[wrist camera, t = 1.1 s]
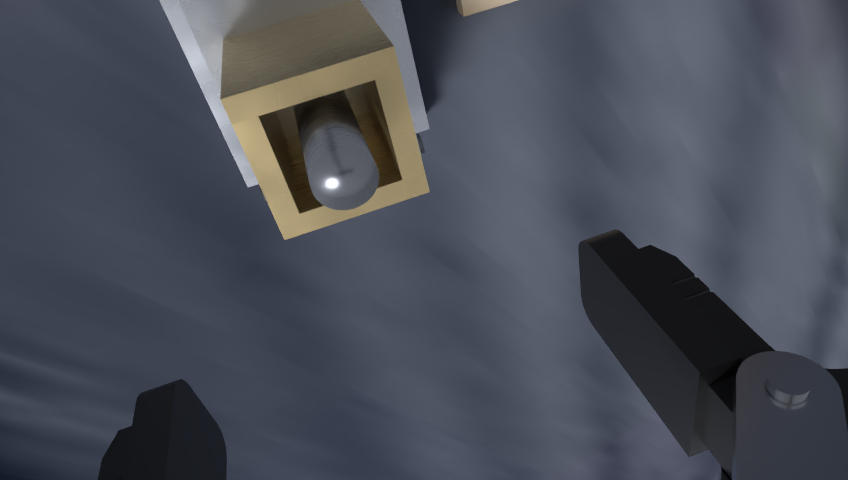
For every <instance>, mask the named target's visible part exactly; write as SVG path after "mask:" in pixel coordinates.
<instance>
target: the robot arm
mask: <svg viewBox="0 0 848 480" xmlns="http://www.w3.org/2000/svg"><path fill="white" fill-rule="evenodd" d="M579 267H580V284H581V298H582V302H583V306H584V309H585V311H586V314H587V316H588V318H589V320H590V322H591V324H592V325H593V326H594V328H595V329H596V331H597V332H598V333H599V335H600V336H601V337H602V339H603V340H604V342H605V343H606V344H607V346H608V347H609V348H610V350H611V351H612V352H613V354H614V355H615V357H616V358H617V359H618V361H619V362H620V363H621V365H622V366H623V367H624V369H625V370H626V372H627V373H628V374H629V376H630V377H631V378H632V380H633V381H634V382H635V384H636V385H637V387H638V388H639V389H640V391H641V392H642V393H643V395H644V396H645V398H646V399H647V400H648V402H649V403H650V404H651V406H652V407H653V408H654V410H655V411H656V413H657V414H658V415H659V417H660V418H661V419H662V421H663V422H664V423H665V425H666V426H667V428H668V429H669V430H670V432H671V433H672V434H673V436H674V437H675V439H676V440H677V441H678V443H679V444H680V445H681V447H682V448H683V449H684V451H685V452H686V454H687V455H688V456H689V457H690V456H693V455H696V454H698V453H701V452H703V451H706V450H708V449H709V451H710V452H711V453H712V454H713V456H714V457H715V458H716V460H717V461H718V462H719V464H720V465H719V474H718V480H848V368H847V369H825V368H823V367H822V366H821V365H819V364H818V363H816V362H814V361H812V360H810V359H808V358H806V357H803V356H801V355H797V354H794V353H789V352H783V351H775V350H774V349H773V348H772V347H770V346H769V345H768V344H767V343H766V342H765V341H764V340H763V339H762V338H761V337H760V336H759V335H758V334H757V333H755V332H754V331H753V330H752V329H751V328H750V327H749V326H748V325H747V324H746V323H745V322H744V321H743V320H742V319H741V318H740V317H739V316H738V315H737V314H736V313H734V312H733V311H732V310H731V309H730V308H729V307H728V306H727V305H726V304H725V303H724V302H723V301H722V300H721V299H720V298H719V297H718V296H717V295H716V294H715V293H714V292H710V290H709V288H708V287H707V286H706V285H705V284H704V283H703V282H702V281H701V280H700V279H699V278H695V276H694V273H693V272H691V271H690V270H689V269H688V268H687V267H686V266H685V265H684V264H683V263H682V262H681V261H680V260H679V259H678V258H677V257H676V256H673V255H671V254H669V253H667V252H665V251H663V250H660V249H658V248H656V247H654V246H652V245H649V246H646V247H643V248H640V249H638V248H637V247H636V246H635V245H634V244H633V243H632V242H631V241H630V240H629V239H628V238H627V237H626V236H625V235H624V234H623V233H622V232H621V231H619V230H612V231H609V232H607V233H604V234H601V235H598V236H595V237H592V238H589V239H586V240H584V241H581V242H580V243H579ZM226 465H227V455H226V446H225V442H224V438H223V435H222V432H221V430H220V428H219V426H218V424H217V423H216V421H215V420H214V419H213V417H212V416H211V415H210V413H209V412H208V410H207V409H206V408H205V406H204V405H203V404H202V402H201V401H200V399H199V398H198V397H197V395H196V394H195V393H194V391H193V390H192V388H191V387H190V386H189V384H188V383H187V382H186V381H184V380H182V379H180V380H177V381H174V382H171V383H168V384H165V385H162V386H160V387H157V388H154V389H151V390H148V391H145V392H142V393H141V394H139V396H138V398H137V401H136V406H135V412H134V418H133V423H132V426H130V427H128V428H125V429H122V430H119V431H118V433H117V434H116V436H115V438H114V440H113V441H112V443H111V445H110V446H109V448H108V450H107V452H106V453H105V455H104V457H103V458H102V462H101V467H100V472H99V477H98V480H226Z"/></svg>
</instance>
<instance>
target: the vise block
mask: <svg viewBox="0 0 848 480" xmlns="http://www.w3.org/2000/svg"><path fill="white" fill-rule="evenodd" d="M350 1H354V0H160V2H161V5H162V7H163V9H164V11H165V13H166V15H167V17H168V19H169V21H170V24H171V26H172V28H173V30H174V32H175V34H176V36H177V38H178V40H179V43H180V45H181V47H182V49H183V51H184V53H185V55H186V57H187V59H188V62H189V64H190V66H191V68H192V70H193V72H194V74H195V76H196V79H197V81H198V83H199V85H200V87H201V89H202V91H203V93H204V95H205V98H206V100H207V102H208V104H209V106H210V108H211V110H212V112H213V114H214V117H215V119H216V121H217V123H218V125H219V127H220V129H221V131H222V133H223V136H224V138H225V140H226V142H227V144H228V146H229V148H230V150H231V152H232V155H233V157H234V159H235V161H236V163H237V165H238V167H239V169H240V172H241V174H242V176H243V178H244V180H245V182H246V184H247V186H248V187H251V186H254V185H257V184H259V183H258V181H257V179H256V176H255V174H254V172H253V170H252V168H251V165H250V163H249V161H248V159H247V157H246V155H245V152H244V150H243V148H242V146H241V144H240V141H239V139H238V137H237V135H236V133H235V130H234V128H233V126H232V124H231V122H230V120H229V117H228V115H227V113H226V111H225V109H224V106H223V104H222V102H221V100H220V96H221V73H222V51H223V39H226V38H230V37H233V36H236V35H240V34H243V33H246V32H250V31H253V30H256V29H260V28H263V27H266V26H270V25H273V24H277V23H280V22H283V21H287V20H290V19H293V18H297V17H300V16H303V15H307V14H310V13H313V12H317V11H320V10H323V9H327V8H330V7H334V6H337V5H340V4H344V3H347V2H350ZM360 1H361V3H362V4H363V5H364V7H365V8H366V9H367V11H368V12H369V13H370V15H371V16H372V17H373V19H374V20H375V21H376V23H377V24H378V25H379V27H380V28H381V29H382V31H383V32H384V33H385V35H386V36H387V37H388V39H389V40H390V41H391V43H392V44H393V45H394V47H395V52H396V56H397V60H398V64H399V68H400V72H401V76H402V80H403V84H404V89H405V93H406V97H407V101H408V105H409V109H410V113H411V117H412V121H413V126H414V130H415V134H416V133H417V134H416V138H417V142H418V146H419V150H420V154H422V153H424V147H423V143H422V140H421V137H420V135H419V134H418V132H421V131H424V130H428V129H429V125H428V120H427V116H426V111H425V107H424V102H423V98H422V94H421V89H420V85H419V80H418V76H417V71H416V67H415V63H414V58H413V54H412V49H411V45H410V40H409V36H408V31H407V27H406V23H405V18H404V14H403V9H402V5H401V0H360ZM367 112H369V109H368V106H367V102H366V99H365V95H364V92H363V89H362V85H361V84H360V85H357V86H354V87H351V88H347V89H344V90H341V91H338V92H335V93H331V94H328V95H325V96H322V97H318V98H315V99H312V100H309V101H306V102H302V103H299V104H296V105H293V106H290V107H286V108H283V109H280V110H277V111H276V114H277V116H278V119H279V121H280V124H281V126H282V129H283V131H284V134H285V136H286V138H288V137H291V136H294V135H298V134H299V137H300V142H301V147H302V151H303V156H304V160H305V165H306V169H307V174H308V179H309V183H310V188H311V191H312V193H313V195H314V197H315V198H316V199H317V200H318V201H319V202H320V203H321V204H322V205H324V206H326V207H328V208H331V209H334V210H350V209H354V208H357V207H359V206H361V205H363V204H364V203H366V202H367V201H368V200H369V199H370V198H371V197H372V196H373V195H374V193H375V191H376V190H377V187H378V184H379V171H378V168H377V166H376V163H375V161H374V159H373V156H372V154H371V152H370V149H369V147H368V145H367V142H366V140H365V138H364V135H363V133H362V131H361V128H360V126H359V124H358V121H357V119H356V117H355V116H358V115H361V114H364V113H367ZM260 189H261V187H260ZM261 193H262V196H263V198H264V200H265V202H266V204H268V203H267V200H266V198H265V196H264V194H263V192H262V190H261Z"/></svg>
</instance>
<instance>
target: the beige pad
mask: <svg viewBox="0 0 848 480" xmlns="http://www.w3.org/2000/svg"><path fill="white" fill-rule="evenodd" d="M514 1H517V0H456V5H457V11H458V12H459V13H460V14H461V15H462V16H464V17H465V16H468V15H471V14H475V13H478V12H481V11H484V10H488V9H491V8H494V7H497V6H501V5H504V4H507V3H511V2H514Z"/></svg>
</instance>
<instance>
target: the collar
mask: <svg viewBox="0 0 848 480" xmlns="http://www.w3.org/2000/svg"><path fill="white" fill-rule="evenodd" d="M360 84H361V85H362V89H363V92H364V95H365V99H366V102H367V106H368V109H369V112H367V113H364V114H361V115H358V116H355V117H356V119H357V121H358V124H359V126H360V128H361V131H362V133H363V135H364V138H365V140H366V142H367V145H368V147H369V149H370V152H371V154H372V156H373V159H374V161H375V163H376V166H377V168H378V171H379V184H378V187H377V190H376V191H375V193H374V195H373V196H372V197H371V198H370V199H369V200H368V201H367V202H366V203H364V204H363V205H361V206H359V207H357V208H354V209H350V210H334V209H331V208H328V207H326V206H324V205H322V204H321V203H320V202H319V201H318V200H317V199H316V198H315V197H314V195H313V193H312V191H311V188H310V183H309V179H308V174H307V169H306V165H305V160H304V156H303V151H302V147H301V142H300V137H299V134H298V135H294V136H291V137H288V138H286V136H285V134H284V131H283V129H282V126H281V124H280V121H279V119H278V116H277V114H276V111H277V110H280V109H283V108H286V107H290V106H293V105H296V104H299V103H302V102H306V101H309V100H312V99H315V98H318V97H322V96H325V95H328V94H331V93H335V92H338V91H341V90H344V89H347V88H351V87H354V86H357V85H360ZM220 100H221V102H222V104H223V106H224V109H225V111H226V113H227V115H228V117H229V120H230V122H231V124H232V126H233V128H234V130H235V133H236V135H237V137H238V139H239V141H240V144H241V146H242V148H243V150H244V152H245V155H246V157H247V159H248V161H249V163H250V165H251V168H252V170H253V172H254V174H255V176H256V179H257V181H258V183H259V185H260V187H261V190H262V192H263V194H264V196H265V198H266V200H267V203H268V205H269V207H270V209H271V211H272V214H273V216H274V218H275V220H276V222H277V225H278V227H279V229H280V231H281V233H282V235H283V238H284V240H286V239H289V238H293V237H296V236H299V235H302V234H305V233H308V232H311V231H314V230H317V229H320V228H323V227H326V226H329V225H332V224H335V223H338V222H341V221H344V220H347V219H350V218H353V217H356V216H359V215H362V214H365V213H368V212H371V211H374V210H377V209H380V208H383V207H386V206H389V205H392V204H395V203H398V202H401V201H404V200H407V199H410V198H413V197H416V196H419V195H422V194H425V193H428V192H430V191H429V187H428V183H427V179H426V175H425V171H424V167H423V163H422V158H421V154H420V150H419V146H418V142H417V138H416V134H415V130H414V126H413V121H412V117H411V113H410V109H409V105H408V101H407V97H406V93H405V89H404V84H403V80H402V76H401V72H400V68H399V64H398V60H397V56H396V52H395V47H394V45H393V44H392V43H391V41H390V40H389V39H388V37H387V36H386V35H385V33H384V32H383V31H382V29H381V28H380V27H379V25H378V24H377V23H376V21H375V20H374V19H373V17H372V16H371V15H370V13H369V12H368V11H367V9H366V8H365V7H364V5H363V4H362V3H361V1H360V0H354V1H350V2H347V3H344V4H340V5H337V6H334V7H330V8H327V9H323V10H320V11H317V12H313V13H310V14H307V15H303V16H300V17H297V18H293V19H290V20H287V21H283V22H280V23H277V24H273V25H270V26H266V27H263V28H260V29H256V30H253V31H250V32H246V33H243V34H240V35H236V36H233V37H230V38H226V39H223V51H222V73H221V96H220Z"/></svg>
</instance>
